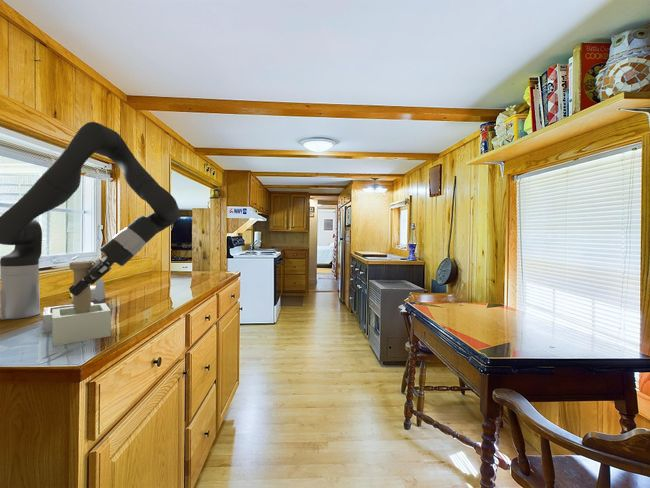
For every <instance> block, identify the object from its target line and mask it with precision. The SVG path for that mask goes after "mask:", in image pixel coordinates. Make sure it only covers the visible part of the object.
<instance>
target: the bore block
mask: <svg viewBox="0 0 650 488" xmlns="http://www.w3.org/2000/svg"><path fill="white" fill-rule="evenodd" d="M93 304H94V301H91V305H93ZM68 307H74V304H65V305H56V306H48V307H43V313H42V325H43V326H42V327H43V331H42V332H43V334H47V333H53V328H52V309H59V308H68Z"/></svg>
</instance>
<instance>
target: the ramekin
mask: <svg viewBox="0 0 650 488" xmlns="http://www.w3.org/2000/svg"><path fill="white" fill-rule="evenodd" d="M95 288H96V284H95V285H94V284H92V285H90V291H91V302H94V294H95ZM71 298H72V299H73V294H72V297H71Z"/></svg>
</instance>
